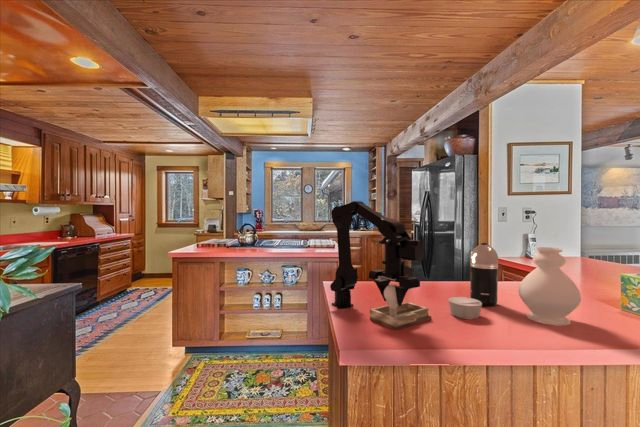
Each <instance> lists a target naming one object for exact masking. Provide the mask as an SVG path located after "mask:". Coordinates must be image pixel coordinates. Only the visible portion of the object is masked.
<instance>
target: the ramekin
mask: <svg viewBox="0 0 640 427" xmlns="http://www.w3.org/2000/svg"><path fill="white" fill-rule="evenodd" d="M448 303H449V310H450V313H451V314H452V316H453V317H456V318H459V319H465V320H475V319H478V318H479V317H480V315H481V311H482V307H483V306H482V303H481V302H480V301H478V300H476V299H472V298H470V297H465V296H454V297H449V298H448Z"/></svg>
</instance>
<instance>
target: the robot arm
mask: <svg viewBox="0 0 640 427" xmlns="http://www.w3.org/2000/svg"><path fill="white" fill-rule="evenodd" d="M330 215H331V220H332V223H333V225H334V227H335V228H336V235H337V239H336V240H337V254H338V255H337V256H338V266H337V268H336V271H335V278H334V280H333V281H332V283H330V285H329V287H330V290H331V291H332V292H334V302H331V305H333V306H335V307H336V308H340V309H345V308H349V307H354V303H352V295H351V290H354V289H355V286H356V284H357V283H358V279H359V277H358V269H357V268H355V267H354V265H353V264H352V254H351V253H352V251H351V250H352V249H351V234H350V227H351V226H352V223H353V219H354V216H356V215H358V216H360V217H362V218H363V219H365V220H366V221H368V222H369V223H370V224H372V225H374V226H375V227H376V228H377V230H378V232H379V233H380V234H381V235H382V236H383V239H381V240H380V241H379V244H380V245H384V260H382V261H381V264H383V265H384V269H381V268H380V269H371V270H369V272H368V279H370V280H373V282H374V283H375V285H376V287H377V289H378V290H379V292H380V294H381V297H382V298H383V301H384V302H387V301H386V299H385V297H384V289H385V288H386V287H387V286H388V285H390V284H391V282H394V283H398V285H397V286H396V287H395V290H396V296H397V302H398V306H401V305H402V303H404V302H403V301H404V299H405V297H406V295H407V292H408V291H409V290H410V289H416V288H420V287H421V280H420V279H419V277H415V276H413V274H414V271H415V270H414V269H415V268H412V267H410V266H407V265H406V263H405V261H412V262H416V263H417V262H418V263H420V262H422V261H423V259H424V257H425V253H426V252H425V248H424V246H423V245H422V241H421V240H419V239H416V240H413V239H412V238H411V236H409V234H408V231H407V230H406V229H405V224H404V223H403V222H402V221H399V220H396V219H393V218H390V217H386V216H385V215H383V214H381V213H380V212H378V211H376V210H375V209H374V208H372V207H371V206H369V205H367V204H366V203H364V202H363V201H362V200H352V201H351V202H349V203H346V204H342V205H335V206H334V207H333V209H331V213H330ZM404 260H405V261H404Z"/></svg>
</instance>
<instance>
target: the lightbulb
mask: <svg viewBox="0 0 640 427" xmlns="http://www.w3.org/2000/svg"><path fill="white" fill-rule="evenodd" d="M396 286H398V285H397V284H395V283H393V284H391V283H389V285H388V286H387V287H386V288H385V289H384V297H385V299H386V301H385V302H387V305H388V307H389V315H390V316H393V317H394V316H396V315H397V307H398V302H397V296H396V290H395V287H396Z"/></svg>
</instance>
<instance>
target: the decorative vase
mask: <svg viewBox="0 0 640 427" xmlns="http://www.w3.org/2000/svg"><path fill="white" fill-rule="evenodd" d="M535 251H537V252H538V253H537V252H536V254H534V255H533V257H532V261H533V263H534V264H535V265H536V266H537V267H536V268H534V269H533V270H532V271H530V272H529V273H527V275H525V277H524V278H523V279H522V280H521V282H520V284H519V286H518V295H519V297H520V299H521V300H522V302H523V303H524V305H525V306H526V307H527V309H528V310H530V311H529V312H528V313H527V314H526V318H527V319H529V320H531V321H533V322H537V323H540V324H542V325H543V324H544V325H548V326H557V327H565V326H570V325H571V322H572V321H571V320H570V319H569V318H567V317H568V316H569V315H570V314H571V313H572V312H573V311H575V309H577V308H578V307H579V306H580V303H581V302H582V296H581V291H580V289H579V288H578V286H577V285H576V284H575V282H574V280H572V279H571V278H570V276H568V274H566V273H565V272H564V271H563V270H562V269H561V267H563V266H565V265H566V263H567V261H566V258H565V257H564V256H562V254H560V253H562V252H563V248H559V247H550V246H549V247H548V246H547V247H545V246H538V247H537V246H536V247H535Z"/></svg>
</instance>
